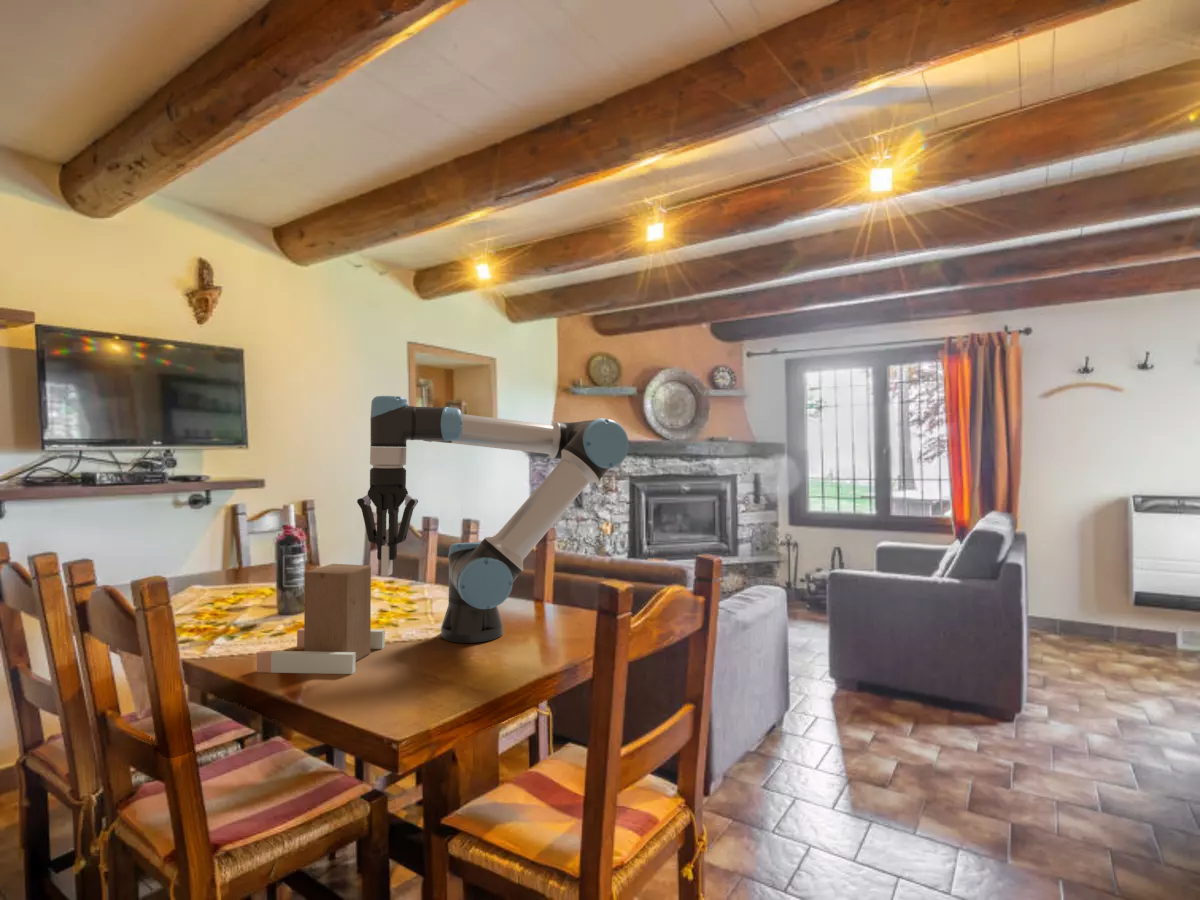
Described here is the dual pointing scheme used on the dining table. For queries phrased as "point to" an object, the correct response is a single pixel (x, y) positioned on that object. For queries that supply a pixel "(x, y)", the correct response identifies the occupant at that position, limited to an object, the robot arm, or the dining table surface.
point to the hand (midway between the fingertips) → (386, 574)
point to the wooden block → (338, 609)
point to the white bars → (314, 658)
